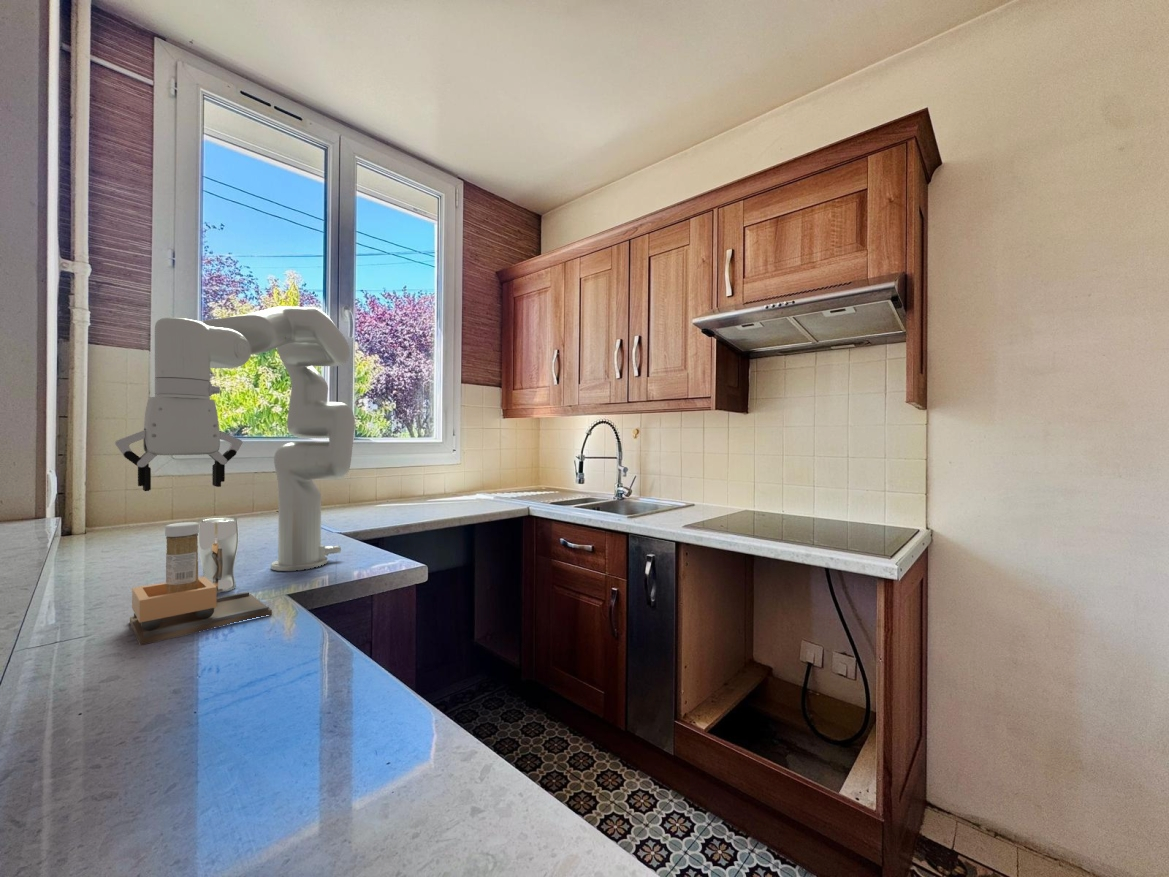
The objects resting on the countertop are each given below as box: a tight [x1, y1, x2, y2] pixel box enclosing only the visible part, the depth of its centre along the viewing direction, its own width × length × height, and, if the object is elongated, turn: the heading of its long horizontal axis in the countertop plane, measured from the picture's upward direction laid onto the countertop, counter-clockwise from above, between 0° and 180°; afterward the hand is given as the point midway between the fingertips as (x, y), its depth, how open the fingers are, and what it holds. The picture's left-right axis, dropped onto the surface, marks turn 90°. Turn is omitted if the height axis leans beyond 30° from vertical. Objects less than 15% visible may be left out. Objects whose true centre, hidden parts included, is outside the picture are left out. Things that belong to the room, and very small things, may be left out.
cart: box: [131, 575, 218, 631], centre depth 85 cm, size 10×10×5 cm
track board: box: [129, 591, 273, 646], centre depth 88 cm, size 18×14×2 cm
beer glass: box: [197, 517, 240, 594], centre depth 106 cm, size 7×7×15 cm
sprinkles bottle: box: [164, 521, 200, 594], centre depth 86 cm, size 5×5×14 cm
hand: (183, 488), depth 86 cm, fingers open, 9 cm apart
